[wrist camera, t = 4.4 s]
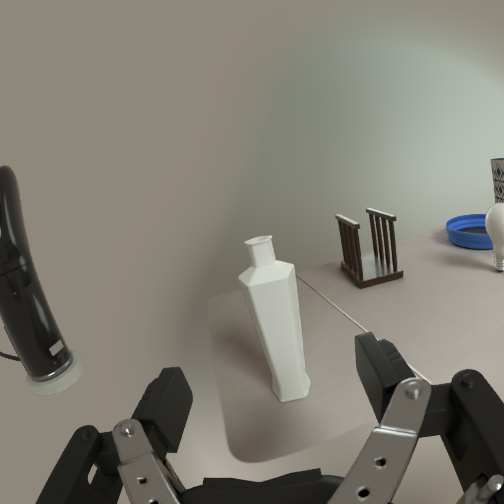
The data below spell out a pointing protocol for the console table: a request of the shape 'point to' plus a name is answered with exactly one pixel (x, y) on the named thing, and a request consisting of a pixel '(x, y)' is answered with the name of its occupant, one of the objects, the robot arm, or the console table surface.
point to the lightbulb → (496, 232)
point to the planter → (498, 179)
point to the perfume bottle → (276, 318)
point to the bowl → (469, 231)
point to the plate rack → (372, 265)
